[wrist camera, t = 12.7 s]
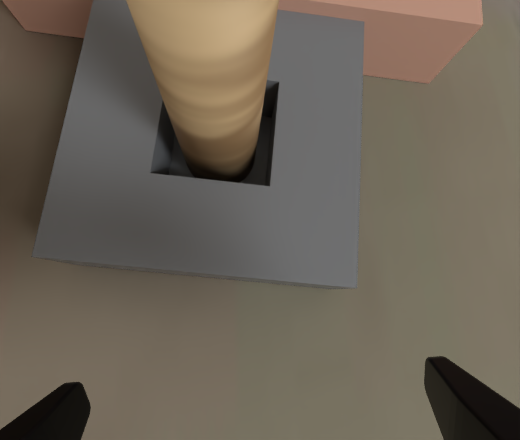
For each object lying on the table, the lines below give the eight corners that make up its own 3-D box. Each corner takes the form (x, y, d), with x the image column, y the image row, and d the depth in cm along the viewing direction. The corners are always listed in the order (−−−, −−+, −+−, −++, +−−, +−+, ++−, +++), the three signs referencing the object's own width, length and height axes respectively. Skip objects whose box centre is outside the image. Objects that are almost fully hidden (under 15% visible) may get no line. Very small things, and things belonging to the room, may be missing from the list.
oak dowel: (234, 200, 19) (235, 31, 7) (172, 167, 19) (61, -55, 7) (266, 142, 20) (319, -99, 8) (206, 112, 20) (164, -173, 8)
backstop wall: (428, 83, 22) (482, 24, 17) (26, 30, 21) (-38, -49, 16) (428, 57, 23) (480, -7, 18) (33, 4, 21) (-26, -82, 16)
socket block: (331, 289, 19) (357, 287, 15) (75, 264, 18) (31, 256, 14) (341, 70, 22) (364, 21, 18) (122, 41, 21) (97, -16, 17)
